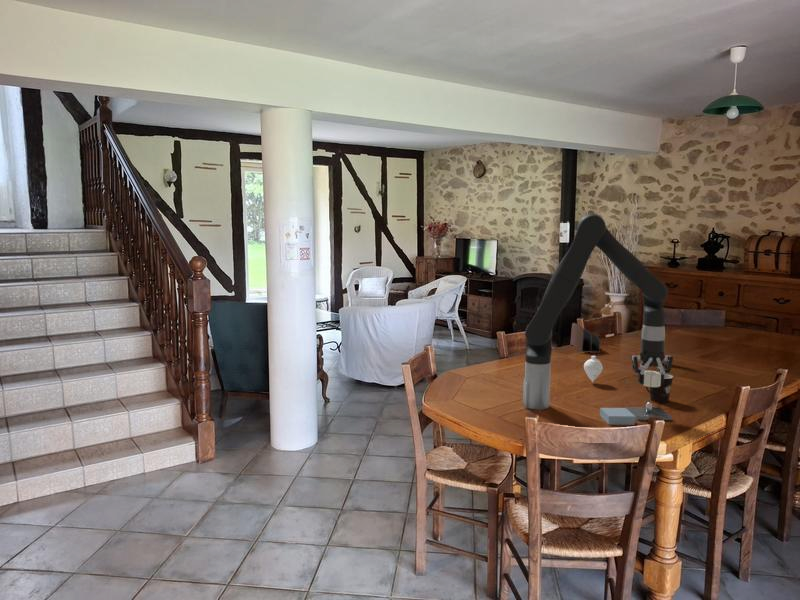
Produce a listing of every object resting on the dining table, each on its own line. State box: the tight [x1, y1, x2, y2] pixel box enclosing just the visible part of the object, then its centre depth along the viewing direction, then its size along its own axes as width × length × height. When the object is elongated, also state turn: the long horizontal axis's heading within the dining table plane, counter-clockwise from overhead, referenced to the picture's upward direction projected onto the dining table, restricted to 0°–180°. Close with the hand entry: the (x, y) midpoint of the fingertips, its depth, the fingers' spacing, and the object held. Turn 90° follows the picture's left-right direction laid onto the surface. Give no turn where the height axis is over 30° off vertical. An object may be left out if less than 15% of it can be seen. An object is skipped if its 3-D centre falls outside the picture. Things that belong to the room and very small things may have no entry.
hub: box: [626, 401, 673, 422], centre depth 203 cm, size 12×10×5 cm
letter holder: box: [569, 322, 601, 354], centre depth 311 cm, size 10×20×14 cm, turn 0°
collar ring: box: [642, 370, 661, 388], centre depth 201 cm, size 6×6×4 cm
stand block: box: [599, 407, 636, 426], centre depth 199 cm, size 9×9×3 cm
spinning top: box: [583, 355, 604, 384], centre depth 244 cm, size 8×8×12 cm
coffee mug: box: [645, 373, 674, 404], centre depth 220 cm, size 12×9×10 cm
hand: (650, 383), depth 202 cm, fingers closed on collar ring, 6 cm apart
